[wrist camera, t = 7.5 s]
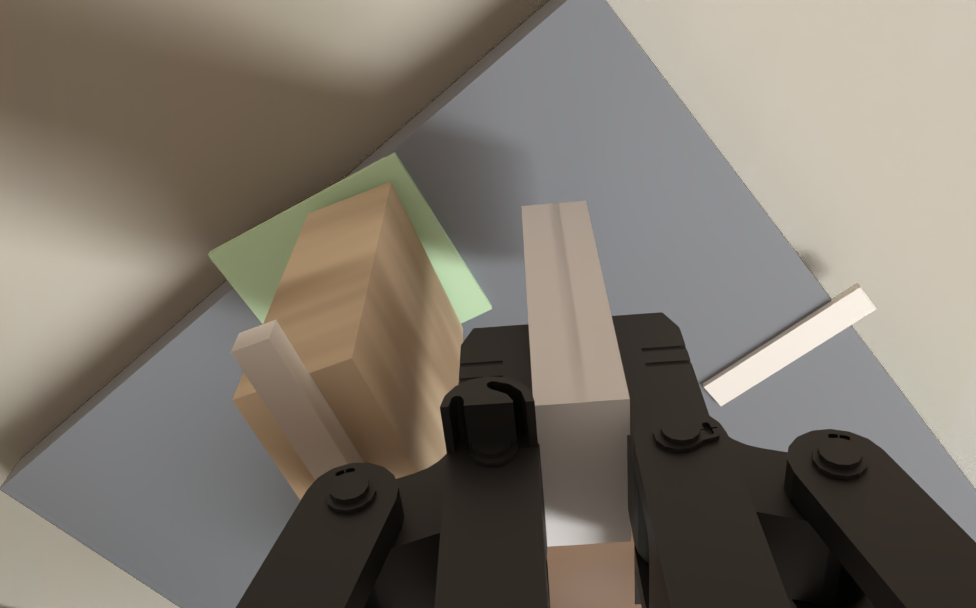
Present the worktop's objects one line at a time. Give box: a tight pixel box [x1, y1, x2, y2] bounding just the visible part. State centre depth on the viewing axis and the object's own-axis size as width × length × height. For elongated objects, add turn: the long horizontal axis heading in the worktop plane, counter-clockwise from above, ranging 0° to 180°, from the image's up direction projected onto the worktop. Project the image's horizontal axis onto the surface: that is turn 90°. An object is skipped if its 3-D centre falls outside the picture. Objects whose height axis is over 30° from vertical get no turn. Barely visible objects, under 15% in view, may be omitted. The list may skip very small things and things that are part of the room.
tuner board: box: [0, 0, 976, 608], centre depth 24 cm, size 21×21×1 cm
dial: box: [231, 182, 642, 608], centre depth 19 cm, size 15×7×8 cm, turn 22°
